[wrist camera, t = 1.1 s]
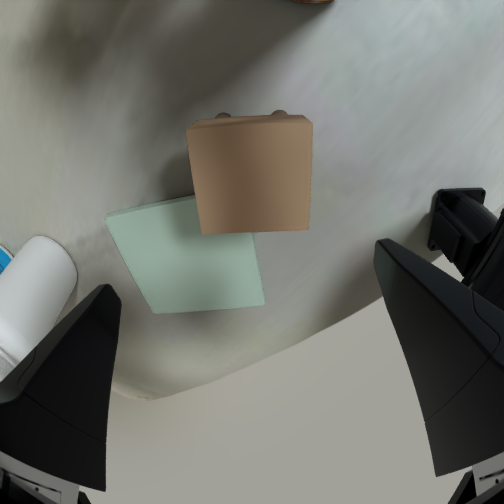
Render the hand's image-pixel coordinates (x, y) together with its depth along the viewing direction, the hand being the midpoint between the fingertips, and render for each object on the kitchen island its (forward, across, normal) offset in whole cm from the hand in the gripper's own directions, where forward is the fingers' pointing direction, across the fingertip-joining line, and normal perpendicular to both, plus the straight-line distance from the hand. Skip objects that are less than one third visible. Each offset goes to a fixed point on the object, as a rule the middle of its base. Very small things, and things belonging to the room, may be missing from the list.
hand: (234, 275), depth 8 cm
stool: (+12, -1, -1) cm, 13 cm away
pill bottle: (+13, +24, +6) cm, 28 cm away
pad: (+13, +7, +8) cm, 16 cm away
